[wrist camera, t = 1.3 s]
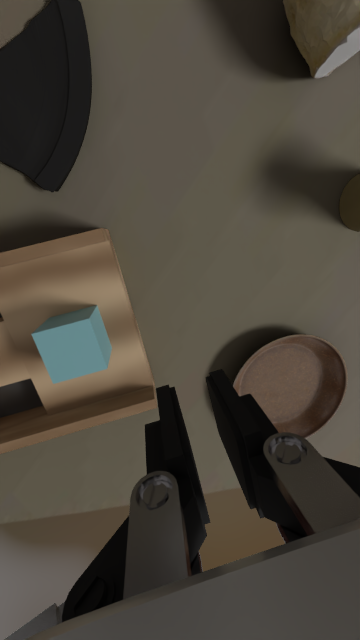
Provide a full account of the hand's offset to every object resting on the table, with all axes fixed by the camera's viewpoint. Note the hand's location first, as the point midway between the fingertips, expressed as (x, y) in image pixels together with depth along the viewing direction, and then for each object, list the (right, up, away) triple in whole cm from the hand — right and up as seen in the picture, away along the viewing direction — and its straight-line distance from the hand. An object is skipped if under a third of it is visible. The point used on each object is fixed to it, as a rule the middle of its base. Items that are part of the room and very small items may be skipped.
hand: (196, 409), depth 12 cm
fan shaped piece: (-12, +22, +12) cm, 28 cm away
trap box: (-18, +1, +17) cm, 25 cm away
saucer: (+12, -4, +24) cm, 27 cm away
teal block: (-10, +2, +15) cm, 18 cm away
